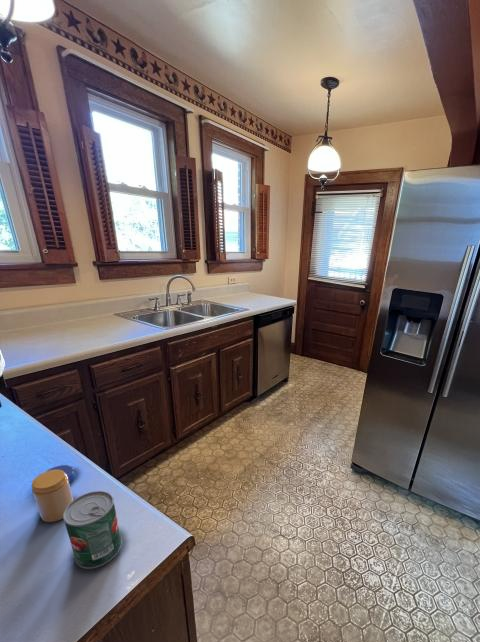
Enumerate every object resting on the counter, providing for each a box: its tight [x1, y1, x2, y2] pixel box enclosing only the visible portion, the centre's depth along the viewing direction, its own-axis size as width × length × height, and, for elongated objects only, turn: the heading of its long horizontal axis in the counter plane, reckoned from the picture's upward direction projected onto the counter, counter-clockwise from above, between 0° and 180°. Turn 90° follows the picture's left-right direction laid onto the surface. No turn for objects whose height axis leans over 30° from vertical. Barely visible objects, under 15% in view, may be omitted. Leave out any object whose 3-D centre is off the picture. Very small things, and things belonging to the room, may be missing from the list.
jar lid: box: [46, 464, 76, 484], centre depth 76 cm, size 7×7×2 cm
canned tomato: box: [63, 490, 123, 570], centre depth 58 cm, size 8×8×11 cm
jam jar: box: [31, 469, 75, 523], centre depth 66 cm, size 6×6×9 cm
